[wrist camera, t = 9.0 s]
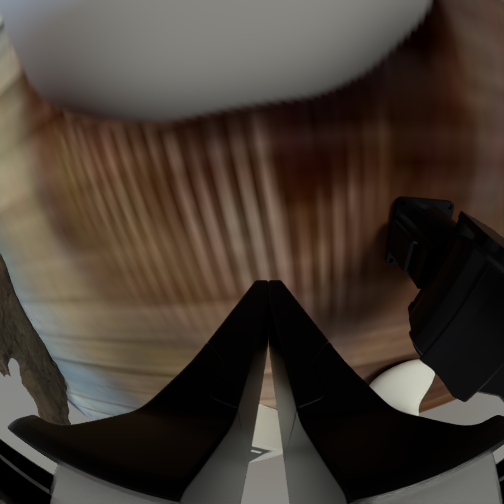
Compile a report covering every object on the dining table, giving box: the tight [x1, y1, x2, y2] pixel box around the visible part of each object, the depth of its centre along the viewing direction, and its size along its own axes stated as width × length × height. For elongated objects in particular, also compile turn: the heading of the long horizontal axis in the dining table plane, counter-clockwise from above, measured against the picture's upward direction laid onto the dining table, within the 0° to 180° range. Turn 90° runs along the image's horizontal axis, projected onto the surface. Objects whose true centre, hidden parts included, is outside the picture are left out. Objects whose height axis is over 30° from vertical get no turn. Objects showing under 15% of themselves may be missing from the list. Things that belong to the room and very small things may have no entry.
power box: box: [250, 404, 283, 462], centre depth 36 cm, size 15×18×7 cm
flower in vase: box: [369, 359, 435, 416], centre depth 22 cm, size 13×11×25 cm
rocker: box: [248, 446, 270, 462], centre depth 33 cm, size 6×4×1 cm, turn 142°
